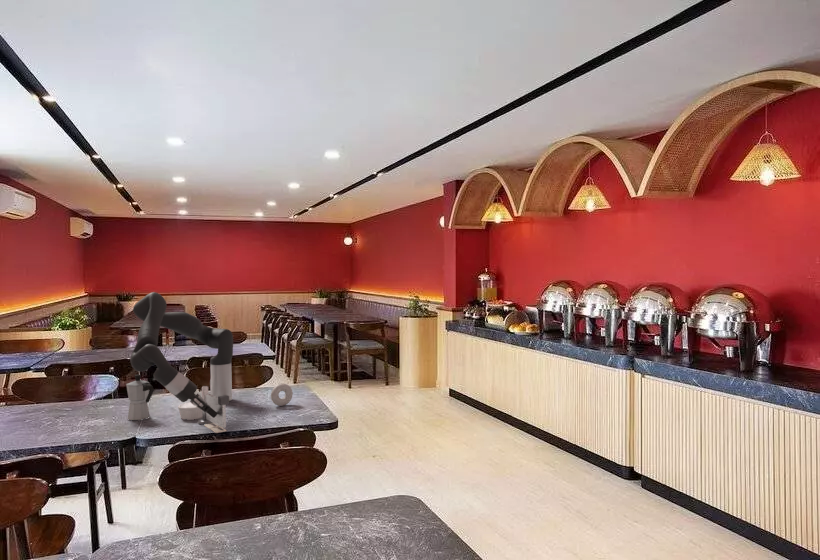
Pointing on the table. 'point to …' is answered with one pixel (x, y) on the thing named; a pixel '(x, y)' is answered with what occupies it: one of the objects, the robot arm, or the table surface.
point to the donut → (277, 390)
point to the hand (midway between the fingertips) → (215, 415)
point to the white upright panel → (215, 407)
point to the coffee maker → (139, 398)
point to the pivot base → (204, 422)
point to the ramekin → (189, 411)
